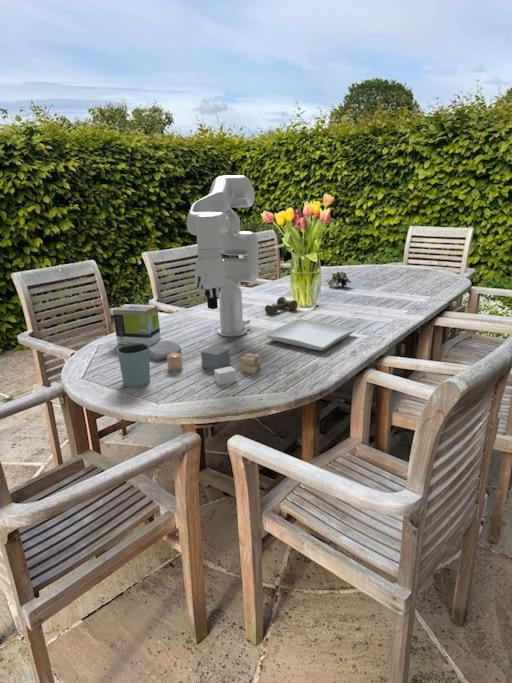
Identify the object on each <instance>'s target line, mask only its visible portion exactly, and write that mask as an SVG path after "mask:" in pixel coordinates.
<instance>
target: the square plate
mask: <svg viewBox="0 0 512 683" xmlns="http://www.w3.org/2000/svg"><path fill="white" fill-rule="evenodd" d="M355 331H356V329H355V328H353V327H352V328H351V327H348V326H347V327H346V326H343V325H337V324H332V323H329V322H323V321H317V320H311V319H305V318H298V319H296V320H293V321H290V322H288V323H286V324H283V325H282V326H279V327H277V328H275V329H273V330H270V331H269V332H267V333H265V334H264V336H265V337H267V339H270V340H272V341H275V342H280V343H282V344H286V345H292V346H295V347H299V348H303V349H304V348H305V349H308V350H315V351H316V350H317V351H324V350H326V349H327V348H329V347H330V346H333V345H335V344H336V343H338V342H340V341H341V340H344V339H346V338H347V337H349V336H351V335H352V334H353V333H354V332H355Z"/></svg>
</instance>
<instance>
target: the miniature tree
mask: <svg viewBox="0 0 512 683" xmlns="http://www.w3.org/2000/svg"><path fill="white" fill-rule="evenodd" d="M331 274H332V276H331V277H332V278H331V279H329V278H328V279H327V280H326V282H327V285H328V286H329V287H331V286H332V287H334V285H335V289H337V287H338V286H339V285H340V284H341V286H342V287H345V286H347V284H348V283H349V284H351V283H352V281H351V280H349V278H348V275H347V274H346V272H344V271H336V273H333V272H331Z"/></svg>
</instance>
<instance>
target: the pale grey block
mask: <svg viewBox="0 0 512 683" xmlns="http://www.w3.org/2000/svg"><path fill="white" fill-rule="evenodd" d="M213 372H214V374H213V375H214V376H213V377H214V382H215V383H217V384H218V385H219V386H221V385H225V384H231V383H234V382H237V369H235V368H234V367H233V366H230V365H229V366H226V367H224V368H220V369H215V370H213Z"/></svg>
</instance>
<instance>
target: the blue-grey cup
mask: <svg viewBox="0 0 512 683" xmlns="http://www.w3.org/2000/svg"><path fill="white" fill-rule="evenodd" d="M116 354H117V358H118V362H119V365H120V366H119V367H120V373H121V377H122V383H123V385H124V387H126V388H132V389H134V388H141V387H145V386H147V385H149V383H150V381H151V376H150V375H151V372H150V364H151V363H150V360H151V359H150V357H149V354H150V346H149V345H147V344H143V343H132V344H122V345H120V346H119V347H118V348H116Z"/></svg>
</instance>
